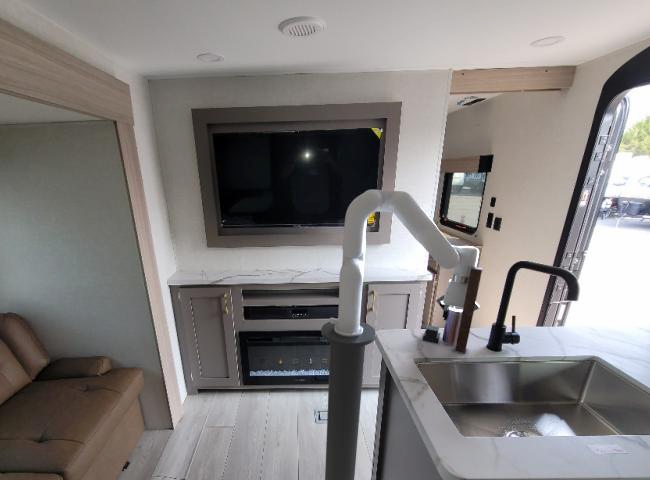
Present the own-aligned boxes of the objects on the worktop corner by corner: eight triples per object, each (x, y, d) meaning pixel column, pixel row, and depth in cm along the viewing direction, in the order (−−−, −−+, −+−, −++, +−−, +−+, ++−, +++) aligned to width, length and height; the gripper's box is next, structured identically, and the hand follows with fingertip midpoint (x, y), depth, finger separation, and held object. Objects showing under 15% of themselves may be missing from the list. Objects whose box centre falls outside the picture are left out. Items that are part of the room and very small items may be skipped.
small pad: (425, 335, 137) (426, 328, 136) (427, 331, 141) (427, 324, 140) (436, 337, 135) (437, 331, 134) (437, 333, 138) (439, 327, 137)
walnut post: (454, 351, 129) (470, 268, 117) (455, 347, 132) (471, 266, 120) (464, 353, 127) (482, 269, 115) (465, 349, 130) (482, 267, 118)
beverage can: (439, 341, 136) (445, 308, 131) (445, 337, 140) (451, 305, 134) (453, 347, 132) (460, 313, 127) (460, 342, 136) (467, 309, 130)
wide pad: (422, 340, 138) (423, 335, 137) (424, 334, 142) (425, 330, 142) (437, 343, 135) (438, 338, 134) (439, 338, 140) (440, 333, 139)
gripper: (488, 279, 125) (478, 322, 131) (439, 273, 133) (432, 313, 139) (487, 284, 119) (477, 329, 125) (436, 277, 127) (429, 319, 133)
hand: (453, 320), depth 132 cm, fingers closed on beverage can, 6 cm apart
